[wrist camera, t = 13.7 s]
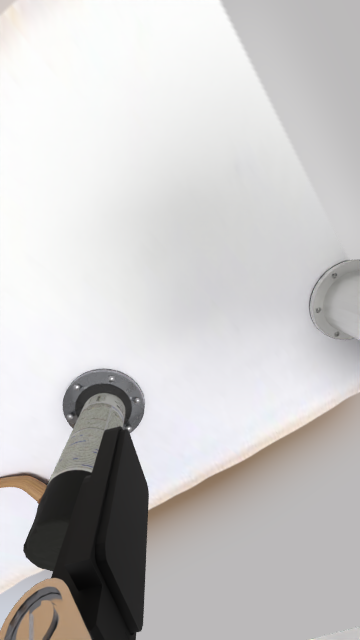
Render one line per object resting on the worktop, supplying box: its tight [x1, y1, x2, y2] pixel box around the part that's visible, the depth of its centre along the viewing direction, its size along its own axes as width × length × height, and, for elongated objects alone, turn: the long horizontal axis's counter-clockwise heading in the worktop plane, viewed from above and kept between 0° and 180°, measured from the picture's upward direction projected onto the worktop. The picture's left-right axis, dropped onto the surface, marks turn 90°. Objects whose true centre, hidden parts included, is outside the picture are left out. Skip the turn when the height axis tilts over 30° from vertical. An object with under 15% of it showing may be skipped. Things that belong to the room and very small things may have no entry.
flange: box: [63, 369, 145, 433], centre depth 42 cm, size 13×13×1 cm
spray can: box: [23, 393, 125, 571], centre depth 32 cm, size 7×7×20 cm
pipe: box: [0, 476, 47, 504], centre depth 44 cm, size 8×19×6 cm, turn 84°
